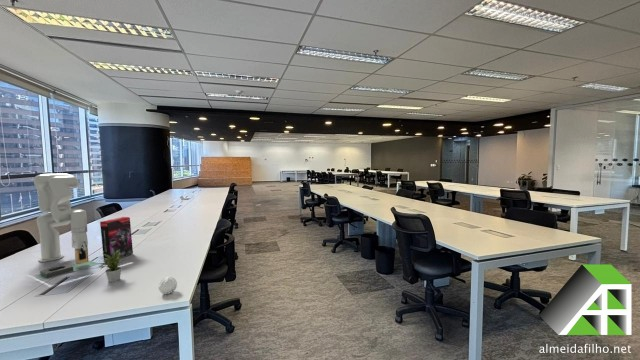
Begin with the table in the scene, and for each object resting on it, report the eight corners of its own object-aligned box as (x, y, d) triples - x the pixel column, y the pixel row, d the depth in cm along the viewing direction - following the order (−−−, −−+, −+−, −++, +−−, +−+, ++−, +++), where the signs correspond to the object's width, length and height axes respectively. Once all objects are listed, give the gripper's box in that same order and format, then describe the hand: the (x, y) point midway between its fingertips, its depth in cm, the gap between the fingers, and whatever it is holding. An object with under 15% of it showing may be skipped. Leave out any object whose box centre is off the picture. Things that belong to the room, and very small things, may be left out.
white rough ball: (157, 298, 127) (156, 282, 127) (160, 291, 134) (159, 276, 134) (176, 294, 131) (175, 279, 130) (178, 288, 138) (177, 273, 137)
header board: (35, 277, 156) (34, 270, 156) (90, 262, 179) (90, 256, 178) (43, 281, 150) (43, 274, 149) (99, 265, 172) (99, 259, 172)
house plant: (102, 276, 154) (100, 248, 153) (131, 272, 159) (130, 245, 158) (93, 287, 141) (91, 256, 140) (125, 282, 146) (123, 252, 145)
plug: (75, 263, 168) (74, 249, 167) (86, 260, 173) (85, 246, 172) (78, 264, 166) (77, 250, 165) (89, 261, 171) (88, 247, 170)
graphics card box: (110, 262, 177) (107, 221, 176) (102, 262, 179) (99, 221, 177) (133, 254, 194) (131, 216, 192) (125, 253, 195) (123, 216, 194)
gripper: (65, 229, 168) (67, 258, 169) (77, 232, 160) (79, 263, 161) (81, 227, 175) (82, 254, 176) (93, 230, 167) (94, 259, 168)
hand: (81, 258), depth 169 cm, fingers closed on plug, 3 cm apart
